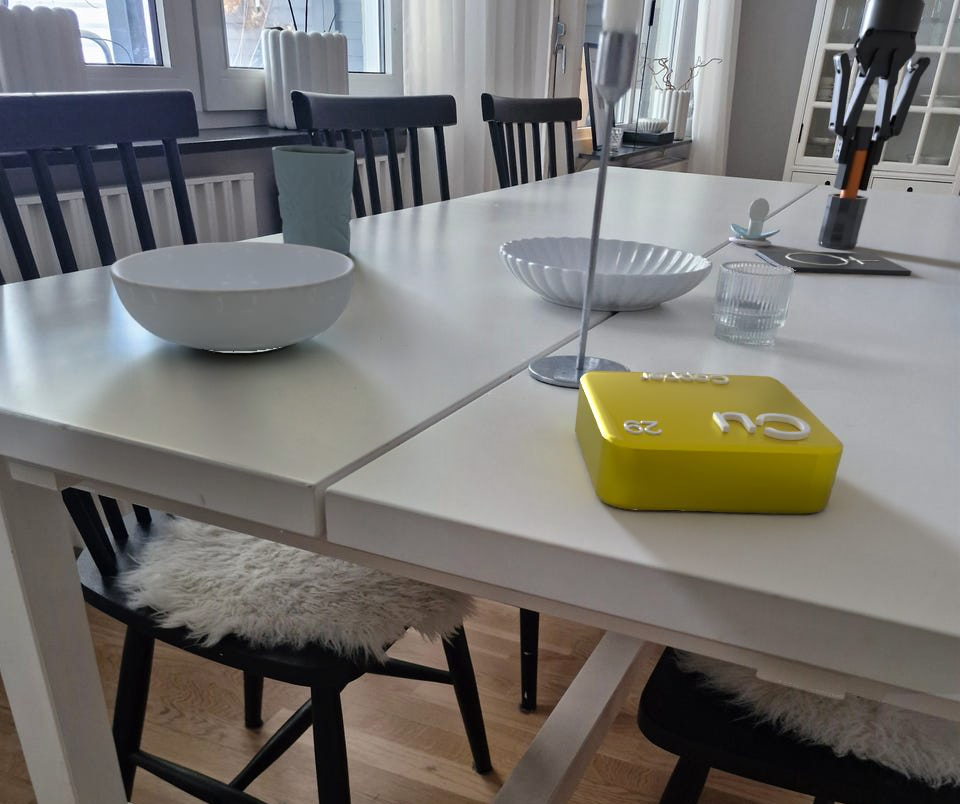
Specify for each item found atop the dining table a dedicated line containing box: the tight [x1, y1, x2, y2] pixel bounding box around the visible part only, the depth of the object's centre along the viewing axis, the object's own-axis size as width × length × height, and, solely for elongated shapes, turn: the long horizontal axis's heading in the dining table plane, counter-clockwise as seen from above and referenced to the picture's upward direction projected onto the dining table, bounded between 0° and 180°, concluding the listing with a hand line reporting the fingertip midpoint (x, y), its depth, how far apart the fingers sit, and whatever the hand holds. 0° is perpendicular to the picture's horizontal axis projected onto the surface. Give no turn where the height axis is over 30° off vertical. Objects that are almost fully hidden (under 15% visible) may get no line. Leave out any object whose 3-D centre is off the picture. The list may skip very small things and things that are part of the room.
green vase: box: [271, 145, 356, 256], centre depth 115 cm, size 10×10×12 cm
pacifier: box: [728, 197, 781, 247], centre depth 135 cm, size 7×6×6 cm
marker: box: [840, 125, 874, 198], centre depth 134 cm, size 3×3×13 cm
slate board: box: [754, 249, 913, 276], centre depth 126 cm, size 18×12×1 cm, turn 93°
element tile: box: [574, 370, 844, 515], centre depth 60 cm, size 15×15×5 cm
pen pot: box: [817, 192, 869, 250], centre depth 137 cm, size 6×6×7 cm
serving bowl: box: [109, 241, 356, 352], centre depth 81 cm, size 21×21×7 cm
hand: (850, 188), depth 135 cm, fingers closed on marker, 3 cm apart
